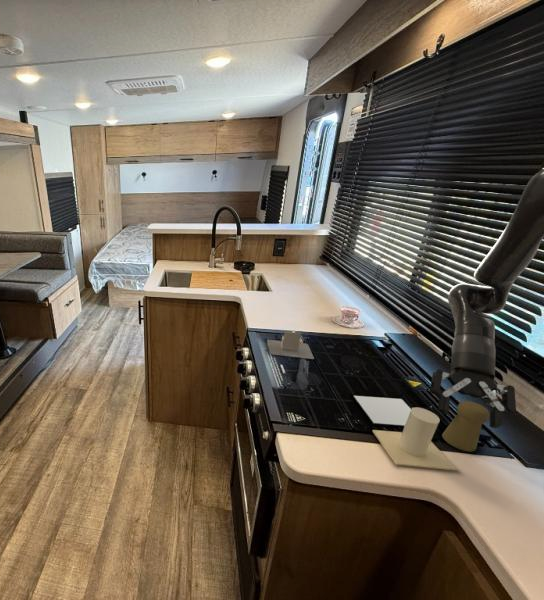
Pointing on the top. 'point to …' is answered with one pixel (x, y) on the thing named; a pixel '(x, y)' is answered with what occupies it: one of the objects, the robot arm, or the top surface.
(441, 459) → the cream mat
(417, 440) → the beige cylinder
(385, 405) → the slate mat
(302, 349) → the architectural model
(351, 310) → the teacup
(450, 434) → the cork
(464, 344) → the robot arm
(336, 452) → the top surface
